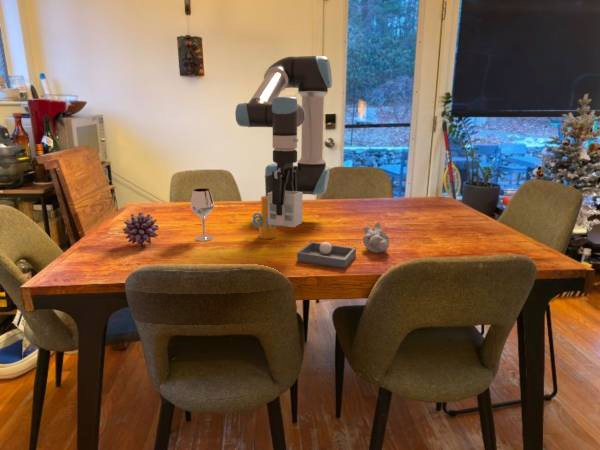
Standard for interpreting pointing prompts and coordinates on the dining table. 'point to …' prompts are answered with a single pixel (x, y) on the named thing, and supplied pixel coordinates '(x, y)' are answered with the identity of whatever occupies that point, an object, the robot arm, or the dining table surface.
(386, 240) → the figurine
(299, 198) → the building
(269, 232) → the orange and blue piece
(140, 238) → the purple spiky ball
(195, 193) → the wineglass
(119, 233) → the dining table surface
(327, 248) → the ball
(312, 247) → the tray
